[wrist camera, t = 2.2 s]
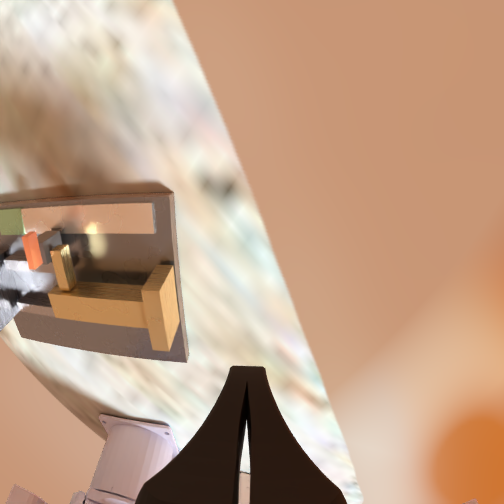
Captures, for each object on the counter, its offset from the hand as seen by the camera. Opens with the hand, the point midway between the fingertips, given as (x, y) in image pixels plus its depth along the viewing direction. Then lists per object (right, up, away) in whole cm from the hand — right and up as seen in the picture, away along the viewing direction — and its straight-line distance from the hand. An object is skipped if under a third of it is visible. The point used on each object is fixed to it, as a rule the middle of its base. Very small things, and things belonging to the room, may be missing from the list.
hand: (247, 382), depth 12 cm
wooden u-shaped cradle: (-8, +4, +6) cm, 11 cm away
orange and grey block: (-12, +6, +5) cm, 15 cm away
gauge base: (-12, +3, +8) cm, 15 cm away
